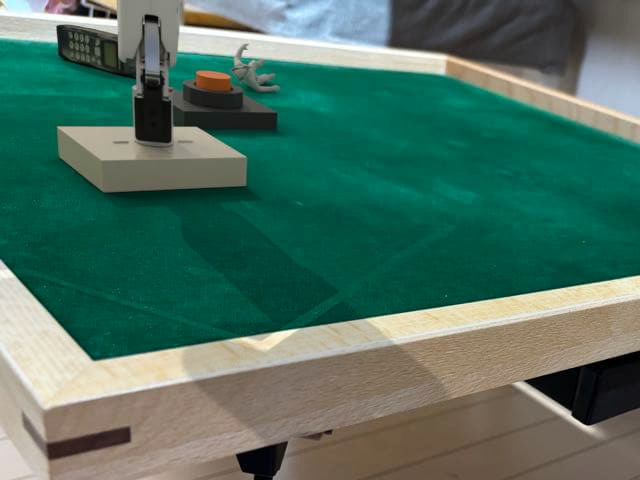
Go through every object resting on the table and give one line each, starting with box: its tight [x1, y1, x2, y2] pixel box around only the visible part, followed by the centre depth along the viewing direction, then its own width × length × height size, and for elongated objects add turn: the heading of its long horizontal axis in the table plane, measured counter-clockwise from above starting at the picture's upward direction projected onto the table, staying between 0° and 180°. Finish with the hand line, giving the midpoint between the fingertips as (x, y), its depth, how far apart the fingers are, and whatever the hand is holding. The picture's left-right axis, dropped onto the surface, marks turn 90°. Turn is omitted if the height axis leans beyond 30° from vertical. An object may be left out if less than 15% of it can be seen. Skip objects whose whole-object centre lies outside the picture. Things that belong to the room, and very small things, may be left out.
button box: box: [173, 78, 279, 131], centre depth 109 cm, size 12×10×4 cm
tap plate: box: [56, 126, 248, 194], centre depth 87 cm, size 14×11×3 cm
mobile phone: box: [55, 23, 136, 76], centre depth 121 cm, size 5×3×15 cm
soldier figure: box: [229, 43, 281, 93], centre depth 129 cm, size 8×5×12 cm
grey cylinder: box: [131, 84, 174, 147], centre depth 85 cm, size 4×4×5 cm
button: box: [195, 70, 232, 91], centre depth 108 cm, size 4×4×2 cm
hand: (153, 133), depth 86 cm, fingers closed on grey cylinder, 3 cm apart
